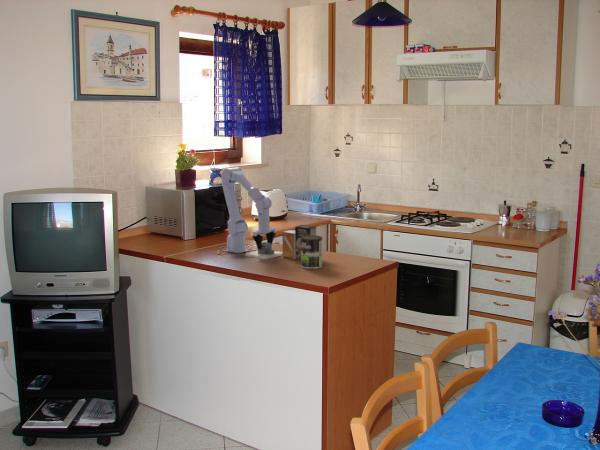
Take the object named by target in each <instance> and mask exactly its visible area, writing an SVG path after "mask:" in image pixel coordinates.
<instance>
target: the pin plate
mask: <svg viewBox="0 0 600 450" xmlns="http://www.w3.org/2000/svg"><path fill="white" fill-rule="evenodd" d="M244 255H245V257H249V258H254V259H261V260H270V259H273V258H278V257H281V256H283V251H276V250H274V254H273V255H269V254H259V253H258V250H256V251H251V252H248V253H245V254H244Z"/></svg>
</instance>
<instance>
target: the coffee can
mask: <svg viewBox="0 0 600 450" xmlns="http://www.w3.org/2000/svg"><path fill="white" fill-rule="evenodd" d="M300 239H301V259H300V268H302V269H306V270H307V269H309V270H311V269H312V270H314V269H321V268H322V267H323V237H322V236H321V235H317V234H316V235H308V236H302V237H300Z"/></svg>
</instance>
